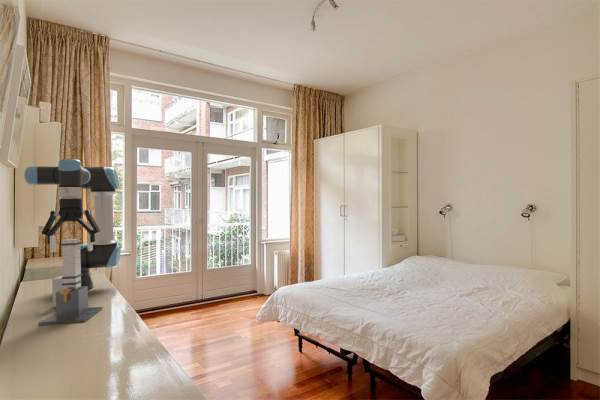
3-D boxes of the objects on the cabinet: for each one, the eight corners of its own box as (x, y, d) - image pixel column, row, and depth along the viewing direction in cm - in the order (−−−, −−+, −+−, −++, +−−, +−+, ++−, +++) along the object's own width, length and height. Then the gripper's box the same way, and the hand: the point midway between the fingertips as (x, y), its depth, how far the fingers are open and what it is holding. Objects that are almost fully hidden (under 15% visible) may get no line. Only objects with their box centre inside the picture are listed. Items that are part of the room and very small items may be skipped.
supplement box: (80, 302, 156) (79, 274, 156) (67, 307, 149) (67, 278, 149) (65, 302, 157) (64, 274, 157) (52, 307, 150) (51, 278, 150)
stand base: (61, 311, 143) (60, 283, 143) (102, 308, 145) (102, 281, 145) (38, 325, 127) (38, 293, 127) (85, 321, 130) (85, 290, 130)
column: (68, 293, 138) (67, 239, 138) (82, 292, 139) (81, 238, 139) (62, 296, 133) (61, 240, 133) (76, 296, 134) (75, 239, 134)
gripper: (30, 198, 131) (31, 254, 131) (100, 197, 135) (101, 251, 135) (41, 198, 138) (42, 251, 138) (108, 197, 142) (109, 248, 142)
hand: (71, 251), depth 137 cm, fingers open, 13 cm apart
